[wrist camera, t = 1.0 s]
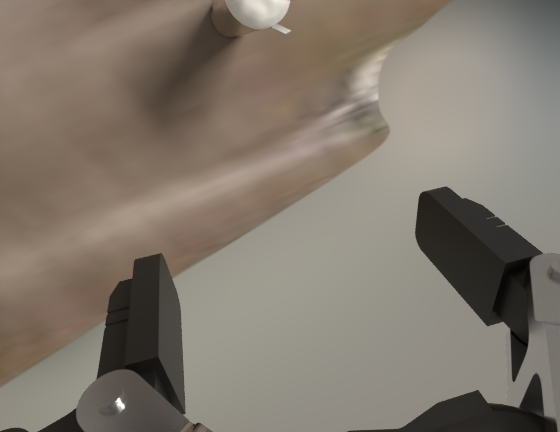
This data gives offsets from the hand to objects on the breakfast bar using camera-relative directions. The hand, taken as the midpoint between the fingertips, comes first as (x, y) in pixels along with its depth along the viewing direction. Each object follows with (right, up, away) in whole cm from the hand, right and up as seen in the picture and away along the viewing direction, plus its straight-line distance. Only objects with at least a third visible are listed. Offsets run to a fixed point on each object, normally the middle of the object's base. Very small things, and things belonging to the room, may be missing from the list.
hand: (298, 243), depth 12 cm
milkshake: (-5, +17, +21) cm, 27 cm away
